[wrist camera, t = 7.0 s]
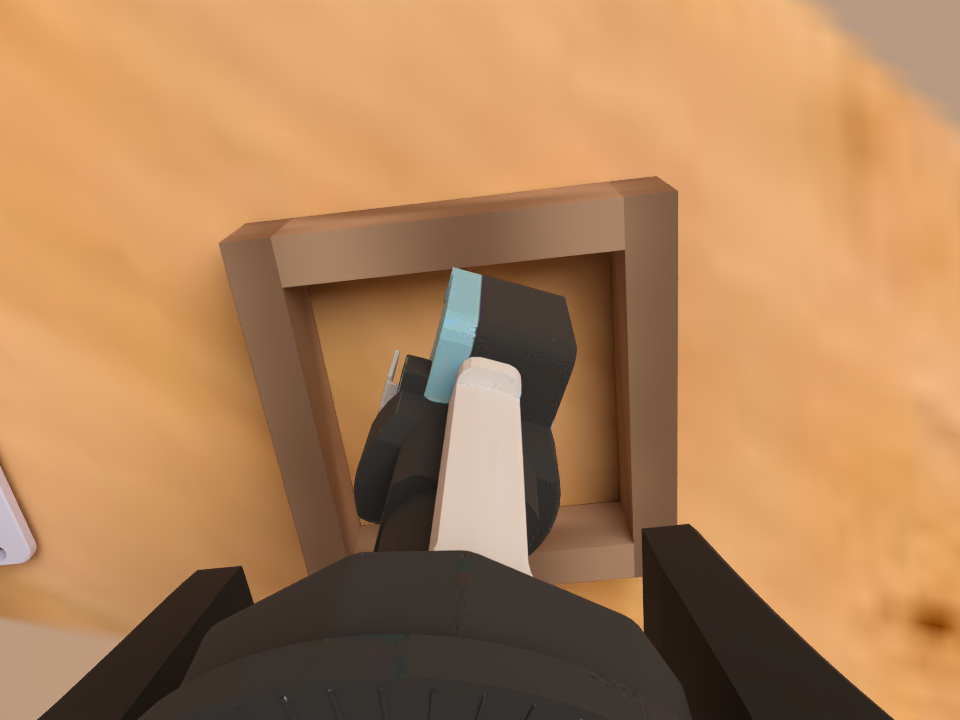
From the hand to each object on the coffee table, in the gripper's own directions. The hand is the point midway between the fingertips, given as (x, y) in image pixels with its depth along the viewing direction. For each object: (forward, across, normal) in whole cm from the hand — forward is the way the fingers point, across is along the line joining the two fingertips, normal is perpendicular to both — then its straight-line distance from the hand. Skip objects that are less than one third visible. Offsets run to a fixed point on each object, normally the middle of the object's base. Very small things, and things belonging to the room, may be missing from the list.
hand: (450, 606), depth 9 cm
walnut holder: (+10, 0, +2) cm, 11 cm away
